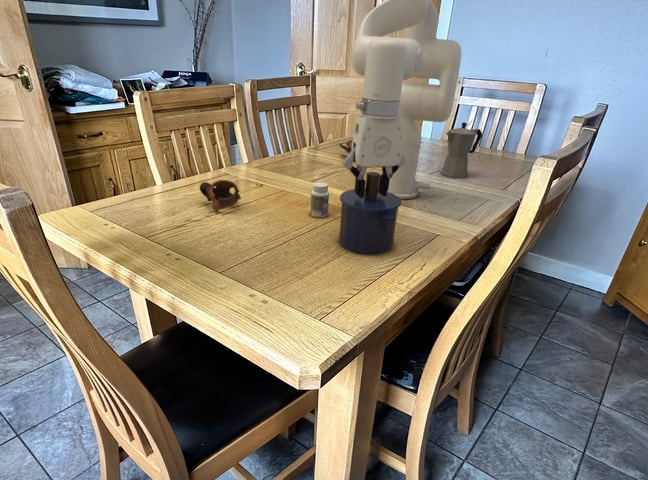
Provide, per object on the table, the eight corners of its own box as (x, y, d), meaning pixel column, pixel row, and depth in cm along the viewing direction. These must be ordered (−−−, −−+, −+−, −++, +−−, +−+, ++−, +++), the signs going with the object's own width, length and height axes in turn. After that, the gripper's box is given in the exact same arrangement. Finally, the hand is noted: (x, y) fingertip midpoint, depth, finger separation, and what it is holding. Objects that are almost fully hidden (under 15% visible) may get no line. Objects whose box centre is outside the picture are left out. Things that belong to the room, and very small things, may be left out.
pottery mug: (245, 202, 125) (246, 183, 118) (231, 227, 120) (231, 207, 113) (206, 188, 125) (205, 167, 118) (191, 211, 121) (188, 191, 114)
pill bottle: (326, 218, 116) (327, 187, 112) (308, 216, 117) (309, 185, 113) (329, 212, 120) (331, 182, 116) (312, 210, 121) (313, 180, 117)
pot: (370, 225, 114) (374, 186, 108) (409, 255, 100) (416, 211, 94) (326, 231, 109) (328, 190, 104) (360, 263, 95) (365, 218, 90)
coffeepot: (447, 179, 153) (457, 125, 144) (431, 172, 161) (440, 120, 152) (481, 176, 159) (494, 124, 150) (464, 169, 166) (475, 119, 157)
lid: (380, 191, 107) (384, 163, 104) (412, 210, 96) (417, 180, 93) (329, 196, 102) (331, 167, 99) (357, 217, 91) (360, 185, 88)
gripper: (348, 112, 83) (341, 203, 93) (426, 111, 88) (412, 198, 98) (334, 105, 89) (329, 192, 99) (408, 105, 94) (397, 187, 104)
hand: (371, 194), depth 98 cm, fingers open, 4 cm apart
